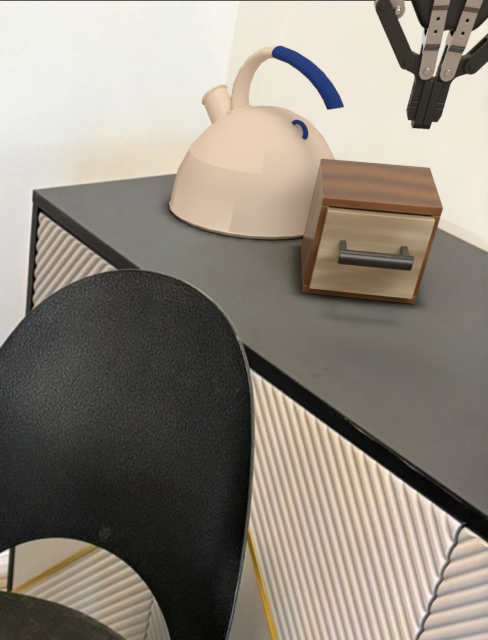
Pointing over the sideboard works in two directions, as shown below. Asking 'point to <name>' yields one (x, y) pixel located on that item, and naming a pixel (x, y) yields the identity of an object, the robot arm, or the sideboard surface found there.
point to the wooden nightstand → (367, 206)
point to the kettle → (254, 159)
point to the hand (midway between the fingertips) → (420, 126)
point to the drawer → (371, 252)
